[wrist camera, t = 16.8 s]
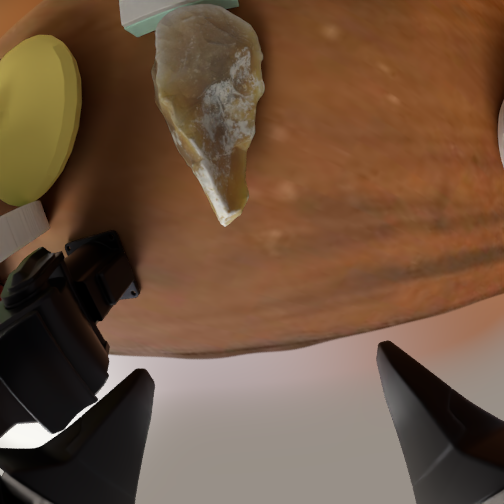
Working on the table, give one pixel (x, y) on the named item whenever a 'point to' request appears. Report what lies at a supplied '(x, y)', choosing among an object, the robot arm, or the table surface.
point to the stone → (210, 97)
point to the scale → (157, 12)
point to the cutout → (21, 228)
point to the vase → (36, 116)
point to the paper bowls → (501, 132)
